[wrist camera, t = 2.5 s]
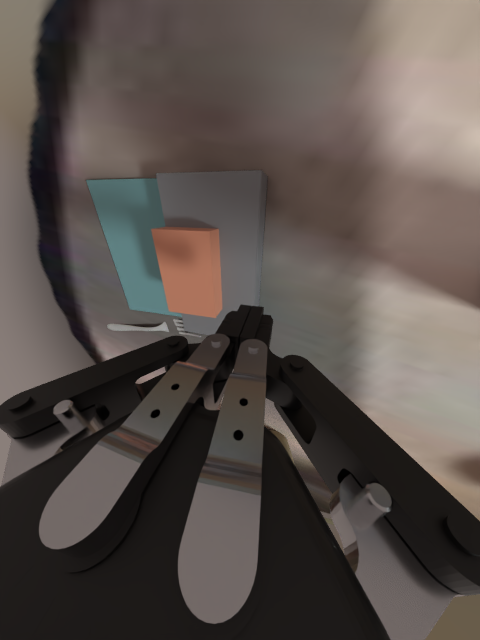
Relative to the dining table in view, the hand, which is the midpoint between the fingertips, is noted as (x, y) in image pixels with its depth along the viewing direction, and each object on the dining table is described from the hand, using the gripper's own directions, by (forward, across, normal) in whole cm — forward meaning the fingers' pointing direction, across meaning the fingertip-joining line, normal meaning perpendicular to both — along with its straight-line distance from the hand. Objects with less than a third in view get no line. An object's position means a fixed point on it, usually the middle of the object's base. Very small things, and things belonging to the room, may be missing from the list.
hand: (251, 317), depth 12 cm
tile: (+8, +8, 0) cm, 11 cm away
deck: (+13, +6, 0) cm, 14 cm away
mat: (+13, +17, 0) cm, 22 cm away
